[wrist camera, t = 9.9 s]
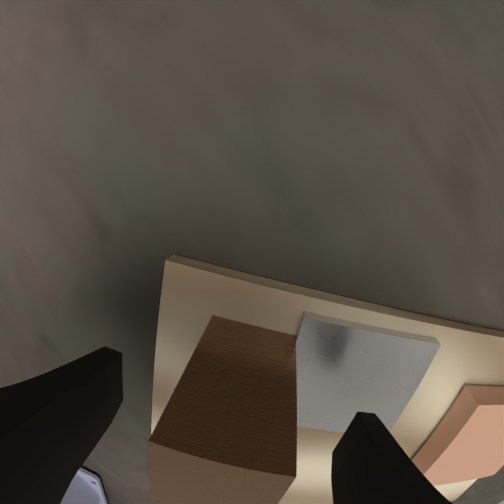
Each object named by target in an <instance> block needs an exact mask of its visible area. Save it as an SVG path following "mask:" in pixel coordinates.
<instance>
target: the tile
mask: <svg viewBox="0 0 504 504" xmlns="http://www.w3.org/2000/svg"><path fill="white" fill-rule="evenodd" d="M412 462H413V463H414V464H415V465H416V467H417V468H418V469H419V470H420V471H421V473H422V474H423V475H424V476H425V477H426V478H427V479H428V480H429V481H430V483H431V484H432V485H433V486H436V485H444V484H450V483H457V482H462V481H468V480H473V479H478V478H482V477H487V476H491V475H494V474H495V473H496V472H497V471H498V470H499V469H500V468H501V467H502V466H503V465H504V387H491V386H469V385H465V387H464V388H463V390H462V391H461V393H460V395H459V396H458V398H457V399H456V401H455V402H454V404H453V405H452V407H451V408H450V410H449V411H448V413H447V414H446V416H445V417H444V419H443V420H442V421H441V423H440V424H439V426H438V427H437V428H436V430H435V431H434V432H433V434H432V435H431V436H430V438H429V439H428V440H427V442H426V443H425V444H424V445H423V447H422V448H421V449H420V450H419V452H418V453H417V454H416V455H415V456H414V458H413V459H412Z"/></svg>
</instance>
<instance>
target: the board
mask: <svg viewBox="0 0 504 504" xmlns="http://www.w3.org/2000/svg"><path fill="white" fill-rule="evenodd" d="M304 311H307V312H312V313H316V314H320V315H325V316H329V317H334V318H338V319H343V320H347V321H352V322H357V323H362V324H366V325H371V326H376V327H381V328H386V329H391V330H396V331H401V332H406V333H412V334H417V335H422V336H428V337H433V338H436V339H437V340H438V341H439V343H440V344H441V345H440V347H439V349H438V351H437V353H436V355H435V357H434V359H433V361H432V363H431V364H430V366H429V368H428V370H427V372H426V374H425V375H424V377H423V379H422V381H421V382H420V384H419V386H418V388H417V389H416V391H415V393H414V394H413V396H412V398H411V399H410V401H409V402H408V404H407V406H406V407H405V409H404V410H403V412H402V413H401V415H400V416H399V418H398V420H397V421H396V422H395V424H394V425H393V427H392V428H391V430H390V431H389V432H390V433H391V434H392V436H393V437H394V438H395V440H396V441H397V442H398V444H399V445H400V446H401V448H402V449H403V450H404V452H405V453H406V454H407V455H408V457H409V458H410V459H411V460H412V459H413V458H414V456H415V455H416V454H417V453H418V452H419V450H420V449H421V448H422V447H423V445H424V444H425V443H426V442H427V440H428V439H429V438H430V436H431V435H432V434H433V432H434V431H435V430H436V428H437V427H438V426H439V424H440V423H441V421H442V420H443V419H444V417H445V416H446V414H447V413H448V411H449V410H450V408H451V407H452V405H453V404H454V402H455V401H456V399H457V398H458V396H459V395H460V393H461V391H462V390H463V388H464V387H465V385H469V386H491V387H504V331H499V330H494V329H489V328H484V327H479V326H474V325H469V324H464V323H460V322H455V321H450V320H445V319H441V318H436V317H431V316H427V315H422V314H418V313H413V312H409V311H404V310H400V309H395V308H391V307H386V306H382V305H377V304H373V303H369V302H364V301H360V300H356V299H351V298H347V297H343V296H339V295H334V294H330V293H326V292H322V291H318V290H313V289H309V288H305V287H301V286H297V285H293V284H289V283H284V282H280V281H276V280H272V279H268V278H264V277H260V276H256V275H252V274H248V273H244V272H240V271H236V270H233V269H229V268H225V267H221V266H217V265H213V264H209V263H205V262H201V261H198V260H194V259H190V258H186V257H182V256H179V255H175V254H173V255H172V256H170V257H169V258H168V259H166V260H165V267H164V275H163V282H162V291H161V299H160V308H159V317H158V328H157V338H156V350H155V364H154V379H153V397H152V425H151V435H152V433H153V431H154V429H155V427H156V425H157V423H158V421H159V419H160V417H161V415H162V413H163V411H164V409H165V407H166V405H167V403H168V401H169V399H170V397H171V395H172V393H173V391H174V389H175V387H176V386H177V384H178V382H179V380H180V378H181V376H182V374H183V372H184V370H185V368H186V366H187V364H188V362H189V360H190V358H191V356H192V354H193V352H194V350H195V348H196V346H197V344H198V343H199V341H200V339H201V337H202V335H203V333H204V331H205V329H206V327H207V325H208V323H209V321H210V319H211V317H212V315H216V316H219V317H223V318H227V319H231V320H234V321H238V322H242V323H246V324H250V325H254V326H258V327H262V328H266V329H271V330H275V331H279V332H283V333H288V334H292V335H296V333H297V330H298V327H299V324H300V321H301V318H302V315H303V312H304ZM343 434H344V433H343V432H334V431H326V430H319V429H312V428H305V427H299V426H297V472H296V478H295V480H294V481H293V483H292V484H291V486H290V487H289V489H288V490H287V491H286V493H285V494H284V496H283V497H282V499H281V500H280V501H279V503H278V504H333V496H332V485H331V466H332V451H333V450H334V448H335V447H336V445H337V444H338V442H339V441H340V439H341V438H342V436H343ZM476 480H477V479H473V480H468V481H462V482H457V483H450V484H444V485H436V486H434V487H435V488H436V489H437V490H438V491H439V492H440V493H441V494H442V495H443V496H444V497H445V498H446V499H448V500H449V501H453V500H456V499H457V498H458V497H459V496H460V495H461V494H462V493H463V492H464V491H465V490H466V489H467V488H468V487H470V486H471V485H472V484H473V483H474V482H475V481H476Z"/></svg>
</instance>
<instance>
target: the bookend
mask: <svg viewBox="0 0 504 504" xmlns="http://www.w3.org/2000/svg"><path fill="white" fill-rule="evenodd" d="M440 345H441V344H440V343H439V341H438V340H437V339H436V338H433V337H428V336H422V335H417V334H412V333H406V332H401V331H396V330H391V329H386V328H381V327H376V326H371V325H366V324H362V323H357V322H352V321H347V320H343V319H338V318H334V317H329V316H325V315H320V314H316V313H312V312H307V311H304V312H303V315H302V318H301V321H300V324H299V327H298V330H297V333H296V335H292V334H288V333H283V332H279V331H275V330H271V329H266V328H262V327H258V326H254V325H250V324H246V323H242V322H238V321H234V320H231V319H227V318H223V317H219V316H216V315H212V317H211V319H210V321H209V323H208V325H207V327H206V329H205V331H204V333H203V335H202V337H201V339H200V341H199V343H198V344H197V346H196V348H195V350H194V352H193V354H192V356H191V358H190V360H189V362H188V364H187V366H186V368H185V370H184V372H183V374H182V376H181V378H180V380H179V382H178V384H177V386H176V387H175V389H174V391H173V393H172V395H171V397H170V399H169V401H168V403H167V405H166V407H165V409H164V411H163V413H162V415H161V417H160V419H159V421H158V423H157V425H156V427H155V429H154V431H153V433H152V435H151V437H150V439H149V441H148V462H149V493H150V500H153V501H156V502H159V503H162V504H278V503H279V501H280V500H281V499H282V497H283V496H284V494H285V493H286V491H287V490H288V489H289V487H290V486H291V484H292V483H293V481H294V480H295V478H296V472H297V426H299V427H305V428H312V429H319V430H326V431H334V432H343V433H345V431H346V430H347V428H348V426H349V425H350V423H351V421H352V420H353V418H354V416H355V415H356V413H357V411H359V412H368V413H375V414H376V415H377V416H378V417H379V419H380V420H381V421H382V422H383V424H384V425H385V426H386V428H387V429H388V430H389V431H390V430H391V428H392V427H393V425H394V424H395V422H396V421H397V420H398V418H399V416H400V415H401V413H402V412H403V410H404V409H405V407H406V406H407V404H408V402H409V401H410V399H411V398H412V396H413V394H414V393H415V391H416V389H417V388H418V386H419V384H420V382H421V381H422V379H423V377H424V375H425V374H426V372H427V370H428V368H429V366H430V364H431V363H432V361H433V359H434V357H435V355H436V353H437V351H438V349H439V347H440Z"/></svg>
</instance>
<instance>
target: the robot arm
mask: <svg viewBox="0 0 504 504" xmlns="http://www.w3.org/2000/svg"><path fill="white" fill-rule="evenodd" d="M122 401H123V383H122V353H121V352H118V351H115V350H113V349H110V348H108V347H103V348H100V349H98V350H96V351H94V352H91V353H89V354H87V355H85V356H83V357H81V358H79V359H77V360H74V361H72V362H70V363H68V364H66V365H63V366H61V367H59V368H56V369H54V370H52V371H50V372H47V373H44V374H42V375H39V376H36V377H34V378H31V379H28V380H26V381H23V382H20V383H17V384H14V385H10V386H7V387H3V388H0V504H108V503H107V500H106V497H105V494H104V491H103V488H102V484H101V481H100V479H99V477H98V476H96V475H95V474H93V473H91V472H89V471H87V470H85V469H83V468H81V466H82V464H83V463H84V461H85V460H86V459H87V457H88V456H89V454H90V453H91V451H92V450H93V449H94V447H95V446H96V444H97V443H98V442H99V440H100V439H101V437H102V436H103V434H104V433H105V432H106V430H107V429H108V427H109V426H110V424H111V422H112V421H113V419H114V417H115V415H116V413H117V411H118V409H119V407H120V405H121V403H122ZM331 485H332V496H333V504H452V503H451V502H450V501H449V500H448V499H446V498H445V497H444V496H443V495H442V494H441V493H440V492H439V491H438V490H437V489H436V488H435V487H434V486H433V485H432V484H431V483H430V481H429V480H428V479H427V478H426V477H425V476H424V475H423V474H422V473H421V471H420V470H419V469H418V468H417V467H416V465H415V464H414V463H413V462H412V460H411V459H410V458H409V457H408V455H407V454H406V453H405V452H404V450H403V449H402V448H401V446H400V445H399V444H398V442H397V441H396V440H395V438H394V437H393V436H392V434H391V433H390V432H389V430H388V429H387V428H386V426H385V425H384V424H383V422H382V421H381V420H380V419H379V417H378V416H377V415H376V414H375V413H368V412H359V411H357V413H356V415H355V416H354V418H353V420H352V421H351V423H350V425H349V426H348V428H347V430H346V431H345V433H344V434H343V436H342V438H341V439H340V441H339V442H338V444H337V445H336V447H335V448H334V450H333V451H332V466H331Z"/></svg>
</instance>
